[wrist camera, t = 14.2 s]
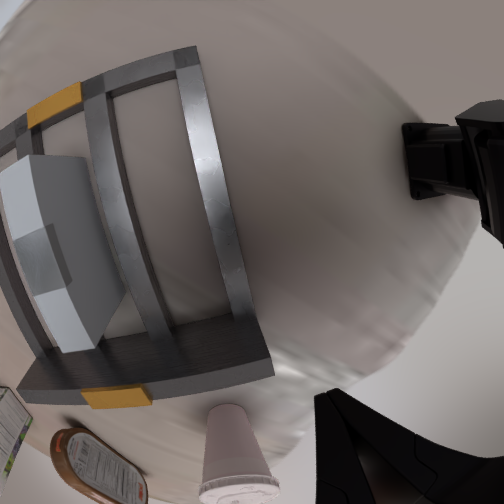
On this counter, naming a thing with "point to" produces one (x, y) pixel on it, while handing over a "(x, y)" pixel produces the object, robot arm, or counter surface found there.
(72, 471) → the tin
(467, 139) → the robot arm
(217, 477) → the smoothie
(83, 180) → the panel
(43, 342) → the rack
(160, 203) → the counter surface
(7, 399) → the syrup box
